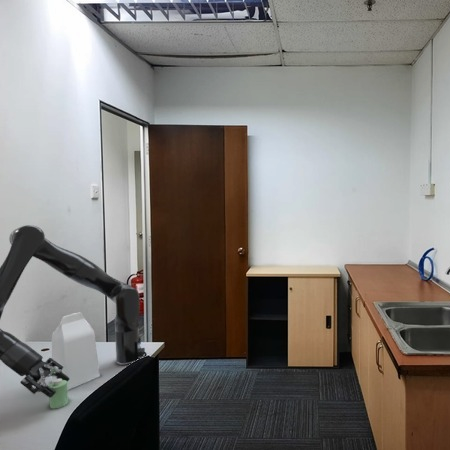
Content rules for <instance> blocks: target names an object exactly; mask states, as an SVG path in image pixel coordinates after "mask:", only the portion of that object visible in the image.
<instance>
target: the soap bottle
mask: <svg viewBox="0 0 450 450" xmlns="http://www.w3.org/2000/svg"><path fill="white" fill-rule="evenodd" d="M48 386H49V387H51V388H52V389H53V390H55V391H56V393H55V394H54V395H53V396H52V397H51V398H50V397H49V407H50V408H51V409H60V408H62V407H64V406H66V405H67V404H68V403H69V396H68V395H69V394H68V391H69V390H67V381H66V380H62V379H61V378H60V379H56V380H54V382H53V383H52V382H51V383H50V384H48Z"/></svg>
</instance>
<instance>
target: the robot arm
mask: <svg viewBox="0 0 450 450" xmlns="http://www.w3.org/2000/svg"><path fill="white" fill-rule="evenodd" d="M8 240H9V244H10V248H9V251H8V252H7V256H6V257H5V259H4V260H3V262H2V264H1V265H0V320H1V318H2V315H3V313H4V309H5V306H6V305H7V304H8V301H9V300H10V298H11V296H12V294H13V292H14V290H15V288H16V286H17V283H19V280H20V278H21V276H22V275H23V272H24V270H25V269H26V267H27V265H28V264H29V262H30V261H31V260H32V258H35V259H37V260H40V261H41V262H43V263H45V264H46V265H48V266H49V267H50V268H52V269H54V270H55V271H56V272H59V273H60V274H61V275H63V276H65V277H66V278H68V279H70V280H72V281H74V282H75V283H78V284H80V285H82V286H84V287H86V288H89V289H92V290H95V291H98V292H99V293H101V294H103V295H104V296H105V297H107V298H108V299H110V301H112V302H113V303H114V304H115V312H116V313H115V316H114V338H115V356H116V357H115V363H116V364H117V365H119V366H125V365H126V366H127V365H131V364H130V363H132V362H134V361H136V360H137V359H139V358H140V359H141V358H142V357H144V356H146V357H147V352H146V348H145V347H142V342H141V341H142V340H141V338H142V337H141V335H140V325H139V320H140V319H139V317H140V314H141V313H140V312H141V310H140V309H141V308H140V307H141V306H140V305H141V304H140V303H141V300H140V299H141V298H140V293H139V291H138V290H137V288H135V287H134V286H132V285H130V284H128V283H124V282H123V281H121V280H118V279H116V278H114V277H113V276H111V275H109V274H108V273H107V272H105V270H103V269H102V268H101V267H99V266H98V265H97V264H96V263H94V262H93V261H91V260H89V259H88V258H86V257H84V256H82V255H80V254H79V253H76V252H74V251H71V250H68V249H67V248H66V249H65V248H63V247H60V246H58V245H56V244H55V243H54V242H52V241H50V240H48V239H47V238H46V234H45V232H44V230H43V229H42V228H40V227H39V226H38V225H37V226H36V225H33V224H26V225H21V226H20V227H17V228H15V229H13V231H11V233H10V234H9V239H8ZM43 359H44V358H43V356H42V354H40V353H39V352H37V351H36V350H35V349H33V348H32V347H30V345H28V344H26V343H24V342H23V341H21V340H20V339H19V338H18V337H16V336H15V335H14V334H12V333H10V332H8V331H5V330H3V329H2V328H0V361H1V362H2V363H3V364H4V365H5V366H6V367H7V368H9V369H10V370H12V371H13V372H14V373H16V374H17V375H18V376H19V377H23V378H22V379H21V380H20V382H19V383H20V384H21V385H22V386H24V387H25V388H26V389H27V390H28V391H29V392H31V393H32V394H33V395H35V394H36V393H39V392H40V393H42V394H43V395H45V396H46V397H48V398H49V399H50V398H51V397H52V396H53V395H54V394H55V393H56V391H55V390H53V389H52V388H51V387H49V384H47V383H46V378H50V377H52V376H53V377H56V378H57V379H60V378H61V379H62V380H66V381H68V380H69V378H68V376H66V375H65V374H64V373H62V369H63V366H62V365H60V364H59V363H57V362H56V361H55V360H53V359H52V357H49V358H48V359H46V360H45V361H44V360H43ZM140 359H139V360H140ZM132 364H133V363H132ZM55 366H57V367H58V369H56V367H55ZM54 372H55V373H54ZM24 376H25V377H24ZM33 386H34V387H35V388H34V387H33Z"/></svg>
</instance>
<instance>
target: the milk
mask: <svg viewBox="0 0 450 450" xmlns="http://www.w3.org/2000/svg"><path fill="white" fill-rule="evenodd" d="M51 358H52V359H53V360H55V361H56V362H57V363H59V364H60V365H62V366H63V369H62V373H64V374H65V375H66V376H68V378H69V380H68V381H67V391H69V390H71V389H73V388H76V387H78V386H81V385H83V384H85V383H88V382H90V381H93V380H94V379H97V378H99V377H100V375H101V374H100V366H99V360H98V359H99V358H98V350H97V343H96V335H95V330H94V329H93V327H92V326H91V324H90V323H89V321H87V319H86V318H85V316H84V314H83V313H82V311H78V312H74V313H69V314H67V315H63V316H62V318H61V320H60V322H59V325H58V326H56V329H55V330H54V331H53V332H52V334H51ZM55 367H56V369H58V367H57V366H55ZM54 373H55V372H54ZM56 379H57V378H56V377H53V376H51V384H52V383H53V382H54V380H56Z"/></svg>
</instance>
